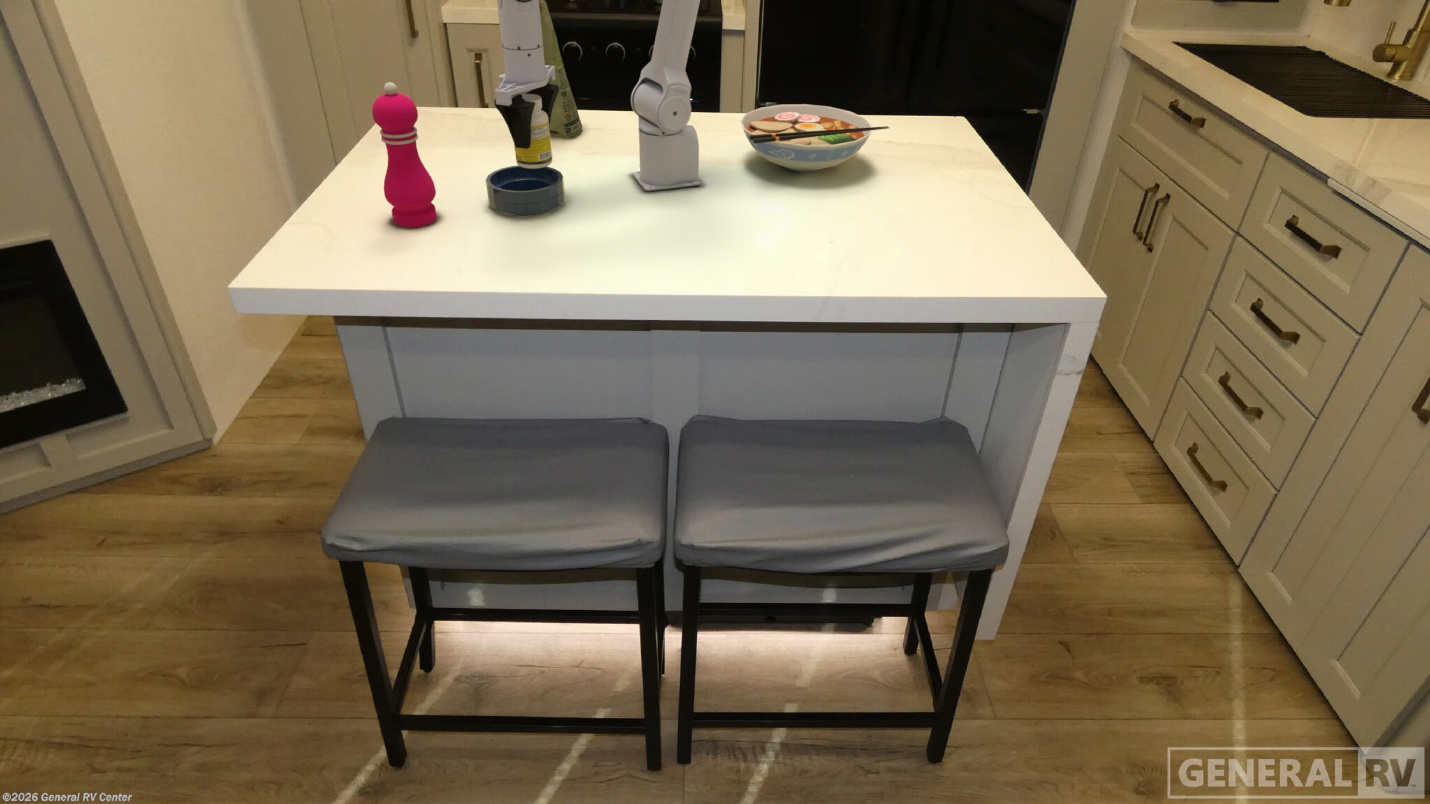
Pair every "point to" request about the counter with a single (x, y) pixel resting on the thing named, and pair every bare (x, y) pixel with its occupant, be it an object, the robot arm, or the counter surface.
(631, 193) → the counter surface
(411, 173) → the pepper mill
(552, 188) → the bowl
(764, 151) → the ramen bowl
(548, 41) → the pouch
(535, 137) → the supplement bottle
